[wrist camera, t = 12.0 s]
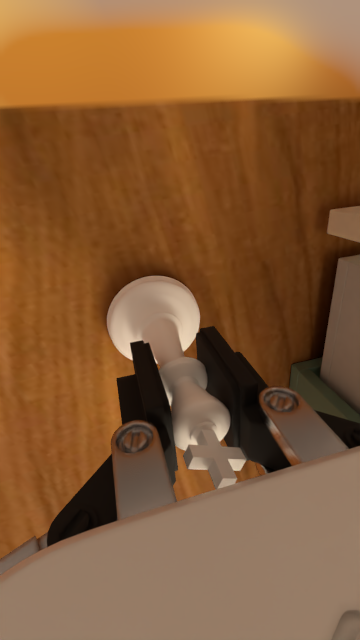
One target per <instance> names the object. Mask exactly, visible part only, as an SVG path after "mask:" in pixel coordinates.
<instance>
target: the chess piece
mask: <svg viewBox="0 0 360 640" xmlns="http://www.w3.org/2000/svg"><path fill="white" fill-rule="evenodd" d="M199 324H200V313H199V308H198V305H197V303H196V300H195V298H194V296H193V294H192V293H191V291H190V290H189V289H188V288H187V287H186V286H185V285H184V284H182V283H181V282H179V281H177V280H175V279H173V278H170V277H166V276H147V277H143V278H140V279H137V280H135V281H133V282H131V283H129V284H128V285H126V286H125V287H124V288H122V289H121V290H120V291H119V292H118V294H117V295H116V296H115V297H114V299H113V301H112V303H111V305H110V307H109V310H108V314H107V328H108V332H109V335H110V337H111V339H112V341H113V343H114V345H115V347H116V348H117V349H118V350H119V351H120V352H121V353H122V354H123V355H124V356H126V357H127V358H129V359H131V360H133V359H132V353H131V347H130V343H131V342H136V341H141V340H143V341H144V343H149V344H150V347H151V350H152V353H153V356H154V359H155V362H156V364H157V363H158V364H159V366H160V367H161V368H160V369H159V374H160V377H161V379H162V382H163V385H164V388H165V391H166V394H167V397H168V400H169V404H170V405H171V417H172V425H173V433H174V441H175V445H176V446H177V447H178V448H180V449H182V450H185V453H184V455H183V457H184V460H185V463H186V466H187V469H200V470H208V471H209V473H210V476H211V478H212V481H213V483H214V486H215V488H216V489H219V488H223V487H226V486H229V485H232V484H234V483H235V482H236V480H237V477H236V475H235V473H234V471H240V470H241V468H242V467H243V465H244V463H245V461H246V458H245V456H244V454H243V453H242V451H241V449H240V448H238V447H222V446H221V444H220V441H221V440H222V439H223V438H224V436H225V435H226V434H227V432H228V430H229V427H230V424H231V417H230V413H229V410H228V409H227V407H226V406H225V405H224V404H223V403H222V402H220V401H219V400H218V399H217V398H215V397H213V396H211V395H210V394H209V393H208V392H207V391H206V390H205V389H206V387H207V384H208V377H207V373H206V368H205V366H204V365H203V364H202V363H201V362H200V361H199V360H197V359H194V358H190V357H185V356H184V353H183V352H184V351H185V350H186V349H187V348H188V347H189V346H190V345H191V343H192V342H193V340H194V339H195V337H196V333H197V332H198V329H199Z"/></svg>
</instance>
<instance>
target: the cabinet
mask: <svg viewBox="0 0 360 640" xmlns="http://www.w3.org/2000/svg"><path fill="white" fill-rule="evenodd" d="M322 359H323V357H321V358H317V359H313V360H309V361H304V362H300V363H296V364H292V367H291V376H290V386H289V388H290V389H292V390H294V391H296V392H297V393H298V394H300V395H301V396H302V398H303V399H304V400H305V401H306V402H307V403H308V404H309V405H310V406H311V407H312V409H313V410H316V411H319V412H323V413H326V414H330V415H333V416H337V417H340V418H343V419H347V420H350V421H354V422H357V423H360V415H359V414H358V413H357V412H356V411H355V410H353V409H352V408H351V407H350V406H349V405H348V404H347V403H346V402H345V401H344V400H343V399H341V398H340V397H339V396H338V395H337V394H336V393H335V392H334V391H333V390H332V389H331V388H329V387H328V386H327V385H326V384H325V383H324V382H323V381H322V380H321V379H320V371H321V365H322Z"/></svg>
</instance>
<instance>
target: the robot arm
mask: <svg viewBox="0 0 360 640" xmlns="http://www.w3.org/2000/svg"><path fill="white" fill-rule="evenodd" d="M196 345H197V360H199V361H200V362H201V363H202V364H203V365H204V366H205V368H206V373H207V377H208V384H207V387H206V389H205V390H206V391H207V392H208V393H209V394H210V395H211V396H213V397H215V398H217V399H218V400H219V401H220V402H222V403H223V404H224V405H225V406H226V407H227V409H228V410H229V413H230V417H231V424H230V427H229V430H228V432H227V434H226V435H225V436H224V440H225V442H226V444H227V446H228V447H238V448H240V449H241V451H242V453H243V454H244V456H245V458H246V461H247V460H251V461H254V462H256V467H257V470H258V472H259V474H260V475H261V476H258V477H255V478H252V479H249V480H245V481H242V482H239V483H236V484H232V485H229V486H226V487H223V488H219V489H216V490H213V491H210V492H206V493H203V494H200V495H197V496H194V497H190V498H187V499H184V500H181V501H178V502H177V500H176V497H175V493H174V489H173V485H174V483H175V481H176V478H175V471H177V470H178V466H177V457H176V449H175V441H174V433H173V425H172V417H171V409H170V404H169V400H168V397H167V394H166V391H165V388H164V385H163V382H162V379H161V377H160V374H159V371H158V368H157V365H156V362H155V359H154V356H153V353H152V350H151V347H150V344H149V343H144V341H143V340H141V341H136V342H131V343H130V347H131V353H132V359H133V364H134V370H135V374H134V375H130V376H125V377H121V378H117V386H118V394H119V402H120V410H121V418H122V426H120V427H119V428H118V429H117V430H116V431H115V432H114V434H113V436H112V439H111V451H112V454H111V455H110V456H109V458H108V459H107V460H106V461H105V462H104V463H103V464H102V465H101V467H100V468H99V469H98V470H97V471H96V472H95V473H94V474H93V476H92V477H91V478H90V479H89V480H88V481H87V482H86V484H85V485H84V486H83V487H82V488H81V489H80V490H79V491H78V493H77V494H76V495H75V496H74V497H73V498H72V499H71V501H70V502H69V503H68V504H67V505H66V506H65V507H64V508H63V510H62V511H61V512H60V513H59V514H58V515H57V517H56V518H55V519H54V521H53V522H52V524H51V526H50V529H49V531H48V532H47V533H46V534H44V535H43V536H41V537H40V538H38V539H37V538H36V537H35V536H34V537H32V538H31V539H29V540H28V541H26V542H25V543H23V544H22V545H21V546H19V547H18V548H16V549H15V550H13V551H12V552H10V553H9V554H7V555H6V556H4V557H3V558H1V559H0V640H360V423H357V422H354V421H350V420H347V419H343V418H340V417H337V416H333V415H330V414H326V413H323V412H319V411H316V410H313V409H312V407H311V406H310V405H309V404H308V403H307V402H306V401H305V400H304V399H303V398H302V396H301V395H300V394H298V393H297V392H296V391H294V390H292V389H290V388H287V387H283V386H272V387H268V385H267V384H266V383H265V382H264V381H263V379H262V378H261V377H260V376H259V374H258V373H257V372H256V371H255V370H254V368H253V367H252V366H251V365H250V363H249V362H248V361H247V360H246V358H245V357H244V356H243V355H242V354H241V353H240V352H235V353H234V351H233V350H232V349H231V348H230V346H229V345H228V344H227V342H226V341H225V340H224V339H223V337H222V336H221V335H220V333H219V332H218V331H217V330H216V328H215V327H214V326H211V327H206V328H201V329H200V332H198V333H196Z"/></svg>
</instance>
